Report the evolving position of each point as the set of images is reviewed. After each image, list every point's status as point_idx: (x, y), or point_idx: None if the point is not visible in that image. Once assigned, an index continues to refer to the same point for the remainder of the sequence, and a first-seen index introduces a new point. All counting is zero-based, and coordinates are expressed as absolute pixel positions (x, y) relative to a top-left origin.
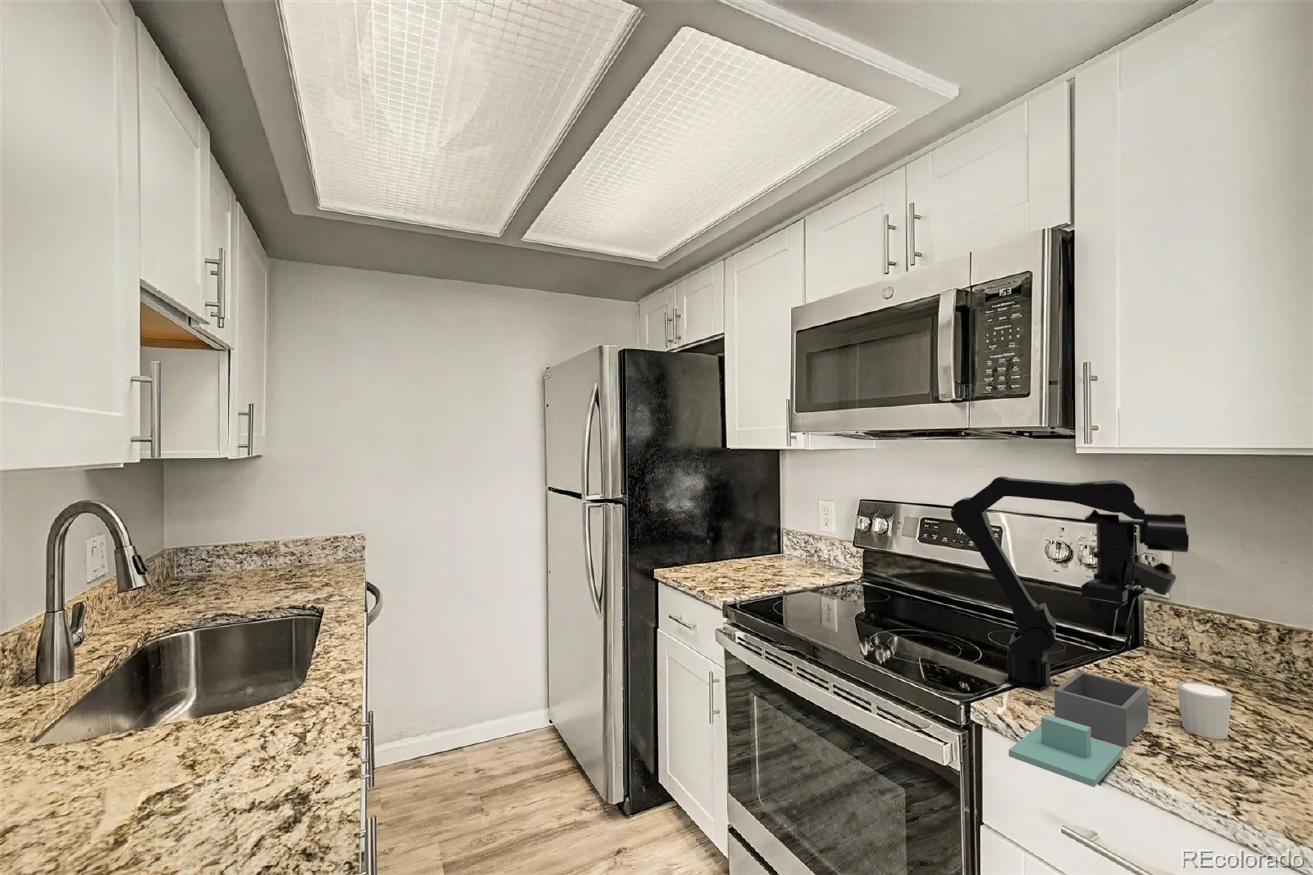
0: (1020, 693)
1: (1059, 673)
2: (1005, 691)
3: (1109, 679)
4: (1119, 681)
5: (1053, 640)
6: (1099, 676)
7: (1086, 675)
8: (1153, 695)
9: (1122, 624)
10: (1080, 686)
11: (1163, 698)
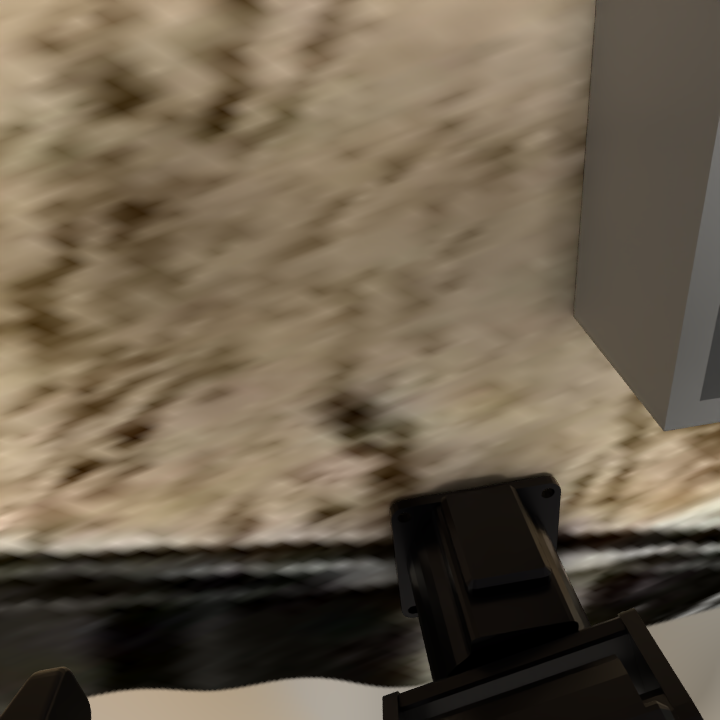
0: (634, 495)
1: (201, 545)
2: (655, 529)
3: (712, 259)
4: (717, 198)
5: (658, 703)
6: (688, 324)
7: (698, 379)
8: (23, 143)
9: (83, 703)
10: (715, 349)
11: (10, 78)
